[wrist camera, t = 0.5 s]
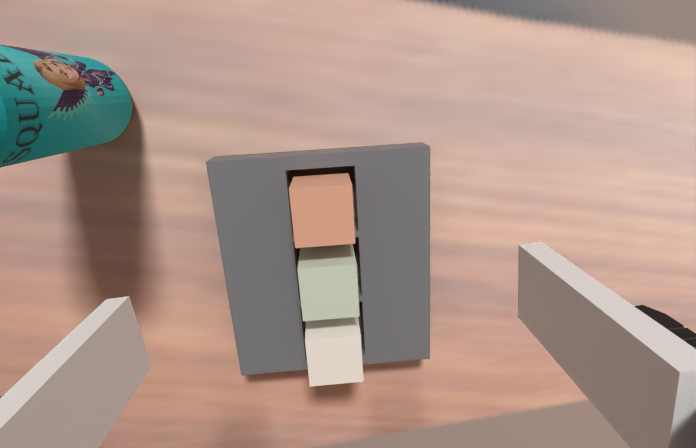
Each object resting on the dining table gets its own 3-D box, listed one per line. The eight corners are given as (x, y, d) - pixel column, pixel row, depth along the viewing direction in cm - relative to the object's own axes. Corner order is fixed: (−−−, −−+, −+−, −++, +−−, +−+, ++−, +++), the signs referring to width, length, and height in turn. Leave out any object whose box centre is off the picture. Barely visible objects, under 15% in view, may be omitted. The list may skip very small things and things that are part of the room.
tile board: (246, 357, 37) (241, 375, 35) (214, 156, 31) (205, 161, 29) (423, 341, 38) (429, 358, 35) (422, 142, 32) (430, 146, 30)
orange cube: (298, 229, 31) (295, 248, 27) (293, 176, 30) (288, 189, 26) (353, 225, 31) (357, 243, 27) (350, 172, 30) (354, 184, 26)
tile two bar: (305, 294, 33) (302, 321, 29) (300, 247, 31) (297, 269, 28) (357, 290, 33) (361, 316, 29) (354, 243, 32) (358, 264, 28)
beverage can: (158, 102, 30) (8, 110, 16) (109, 157, 31) (-72, 212, 17) (90, 40, 29) (-142, -13, 14) (42, 100, 30) (-220, 108, 15)
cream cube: (311, 353, 34) (309, 386, 31) (306, 311, 33) (304, 339, 29) (360, 349, 34) (365, 381, 31) (358, 307, 33) (362, 334, 29)
